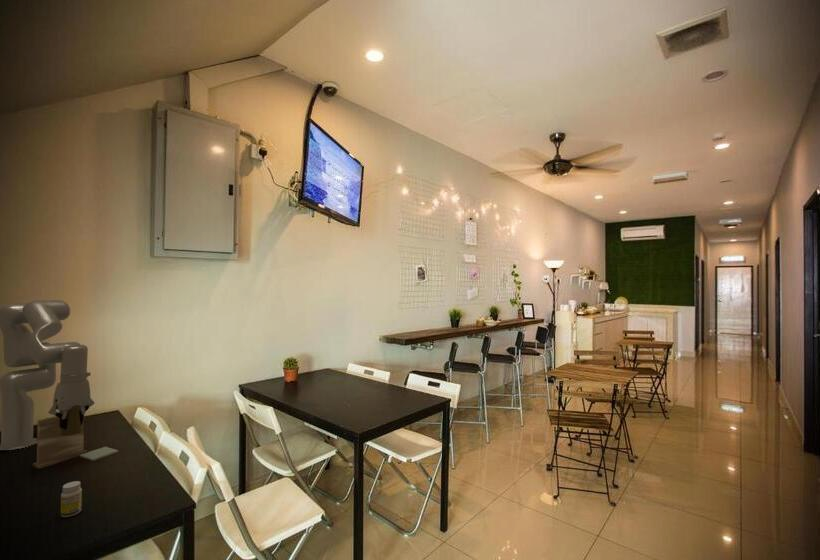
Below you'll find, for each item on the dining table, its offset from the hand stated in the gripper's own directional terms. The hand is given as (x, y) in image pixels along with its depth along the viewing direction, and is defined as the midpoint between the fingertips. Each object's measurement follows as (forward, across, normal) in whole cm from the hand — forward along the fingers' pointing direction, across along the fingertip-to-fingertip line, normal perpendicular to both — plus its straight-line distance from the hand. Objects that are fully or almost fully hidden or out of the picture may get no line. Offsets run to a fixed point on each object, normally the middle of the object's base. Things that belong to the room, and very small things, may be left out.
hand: (71, 426), depth 147 cm
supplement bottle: (+13, +17, +38) cm, 44 cm away
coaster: (+14, -10, 0) cm, 18 cm away
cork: (+3, 0, 0) cm, 3 cm away
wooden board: (+15, -1, -8) cm, 17 cm away
